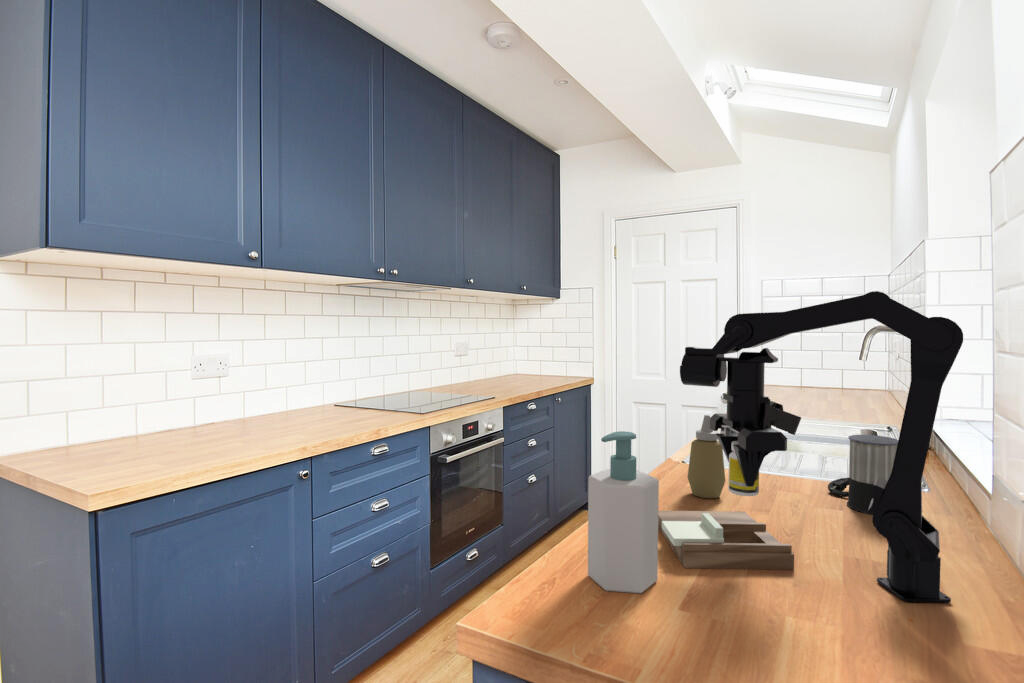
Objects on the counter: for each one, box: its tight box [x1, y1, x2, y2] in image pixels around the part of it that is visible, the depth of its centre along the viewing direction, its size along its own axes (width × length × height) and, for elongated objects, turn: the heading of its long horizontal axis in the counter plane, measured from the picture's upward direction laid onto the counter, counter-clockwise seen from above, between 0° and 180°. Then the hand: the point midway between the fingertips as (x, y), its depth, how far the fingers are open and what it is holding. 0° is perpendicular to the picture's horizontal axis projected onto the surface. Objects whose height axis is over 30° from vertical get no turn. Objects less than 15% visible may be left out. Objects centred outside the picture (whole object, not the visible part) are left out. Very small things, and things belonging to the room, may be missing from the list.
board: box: [658, 510, 795, 570], centre depth 98 cm, size 20×17×3 cm
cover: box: [662, 513, 724, 546], centre depth 94 cm, size 8×8×3 cm
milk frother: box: [827, 434, 899, 515], centre depth 121 cm, size 14×16×15 cm
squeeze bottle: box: [687, 414, 726, 499], centre depth 126 cm, size 8×8×18 cm
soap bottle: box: [587, 430, 660, 594], centre depth 84 cm, size 10×9×22 cm
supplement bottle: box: [727, 441, 760, 497], centre depth 94 cm, size 5×5×8 cm
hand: (743, 481), depth 94 cm, fingers closed on supplement bottle, 5 cm apart
